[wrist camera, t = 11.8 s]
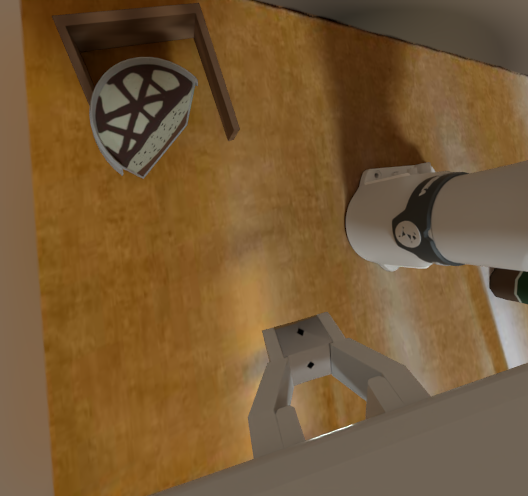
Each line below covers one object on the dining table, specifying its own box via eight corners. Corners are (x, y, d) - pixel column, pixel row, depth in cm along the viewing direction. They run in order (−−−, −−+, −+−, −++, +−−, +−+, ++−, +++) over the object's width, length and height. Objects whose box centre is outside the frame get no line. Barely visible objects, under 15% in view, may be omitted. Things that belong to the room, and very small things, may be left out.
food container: (153, 81, 32) (142, 19, 22) (194, 116, 34) (199, 73, 24) (89, 154, 30) (48, 121, 21) (135, 187, 32) (117, 171, 23)
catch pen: (196, 28, 33) (199, 2, 29) (233, 139, 36) (239, 129, 32) (68, 43, 29) (51, 15, 25) (120, 168, 31) (112, 159, 28)
